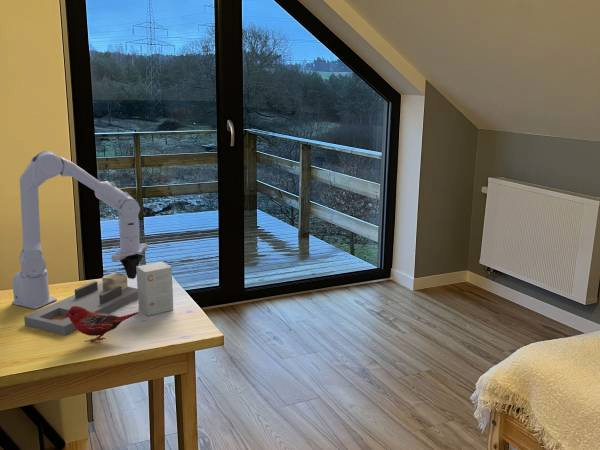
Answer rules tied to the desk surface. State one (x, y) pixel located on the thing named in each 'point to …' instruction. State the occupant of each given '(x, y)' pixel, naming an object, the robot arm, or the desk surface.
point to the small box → (154, 288)
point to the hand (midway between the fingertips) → (131, 277)
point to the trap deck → (84, 297)
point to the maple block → (114, 281)
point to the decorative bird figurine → (94, 322)
